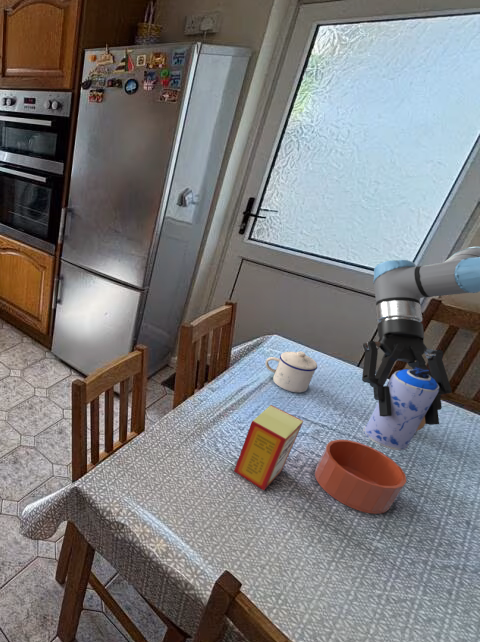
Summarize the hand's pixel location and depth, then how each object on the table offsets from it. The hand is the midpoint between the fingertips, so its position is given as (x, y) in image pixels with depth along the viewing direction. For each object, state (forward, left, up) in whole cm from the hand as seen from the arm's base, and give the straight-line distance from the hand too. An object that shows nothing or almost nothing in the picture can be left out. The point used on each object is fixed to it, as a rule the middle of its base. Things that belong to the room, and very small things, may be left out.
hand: (408, 419), depth 92 cm
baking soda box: (+22, +19, -16) cm, 33 cm away
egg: (-6, -21, -16) cm, 27 cm away
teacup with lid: (+21, -25, -16) cm, 37 cm away
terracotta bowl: (+5, +11, -16) cm, 20 cm away
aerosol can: (+1, -3, -9) cm, 9 cm away
